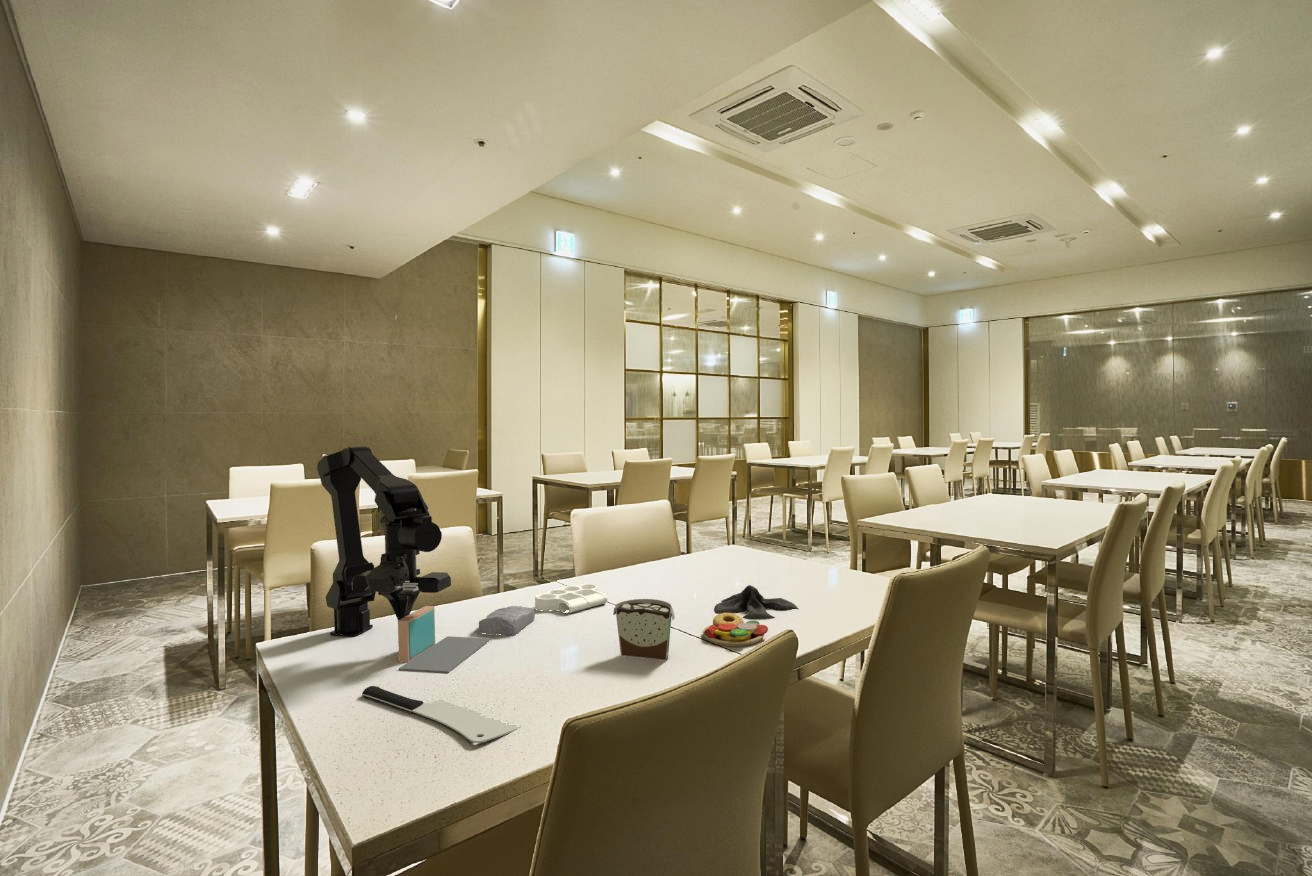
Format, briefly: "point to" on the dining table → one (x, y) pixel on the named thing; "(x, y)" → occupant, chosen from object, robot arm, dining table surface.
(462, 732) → the kitchen cleaver
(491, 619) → the stone block
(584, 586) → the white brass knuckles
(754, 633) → the toy food set
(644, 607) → the food container
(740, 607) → the cloth
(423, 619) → the tan flat block
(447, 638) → the mat
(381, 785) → the dining table surface
